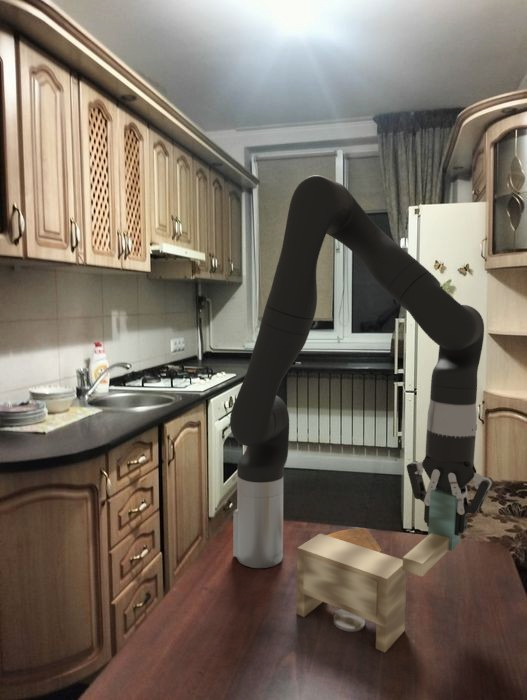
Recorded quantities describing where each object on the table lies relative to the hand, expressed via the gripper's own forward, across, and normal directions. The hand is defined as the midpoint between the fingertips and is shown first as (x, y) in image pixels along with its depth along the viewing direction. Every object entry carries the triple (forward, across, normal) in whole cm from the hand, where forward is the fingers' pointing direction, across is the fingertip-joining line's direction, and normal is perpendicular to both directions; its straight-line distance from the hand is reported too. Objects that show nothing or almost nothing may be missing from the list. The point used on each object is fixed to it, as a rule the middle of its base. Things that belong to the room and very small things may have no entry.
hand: (444, 529), depth 90 cm
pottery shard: (+16, -24, +13) cm, 31 cm away
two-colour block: (+2, 0, -6) cm, 6 cm away
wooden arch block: (+15, -10, -12) cm, 22 cm away
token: (+15, -10, -12) cm, 22 cm away
